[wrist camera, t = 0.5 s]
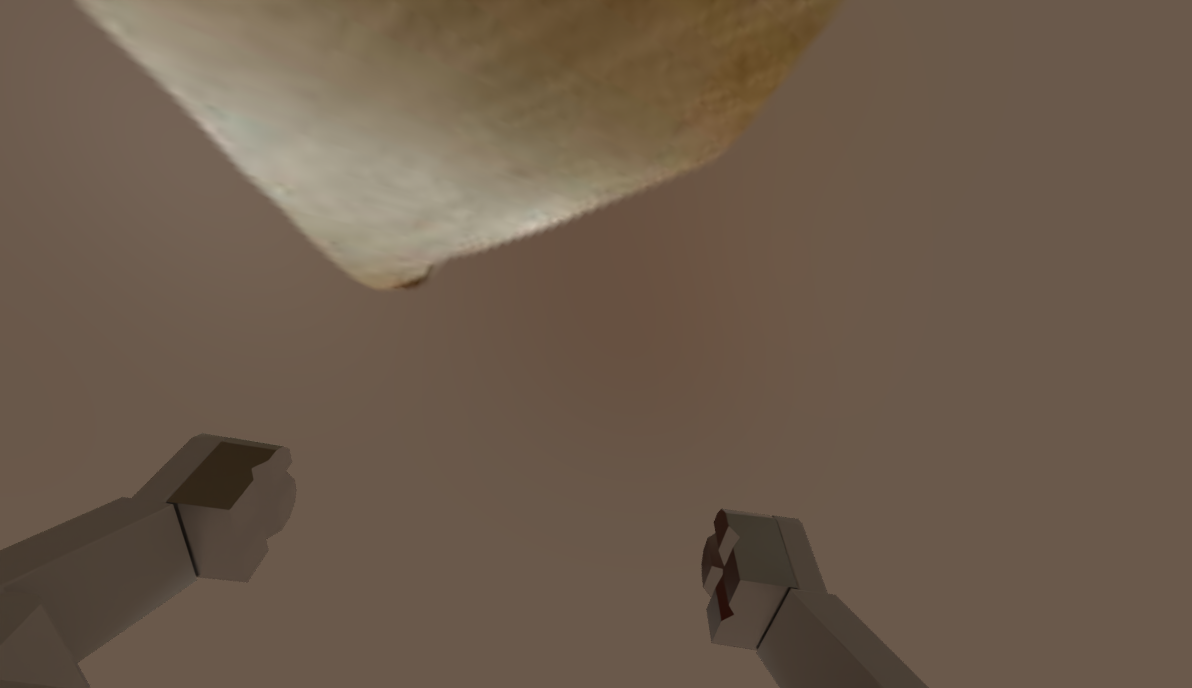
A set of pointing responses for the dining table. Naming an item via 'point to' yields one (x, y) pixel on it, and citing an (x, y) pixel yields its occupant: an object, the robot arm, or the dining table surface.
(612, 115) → the dining table surface
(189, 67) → the dining table surface
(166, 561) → the robot arm
